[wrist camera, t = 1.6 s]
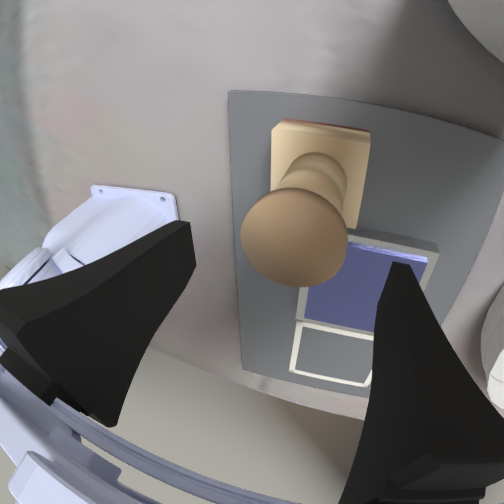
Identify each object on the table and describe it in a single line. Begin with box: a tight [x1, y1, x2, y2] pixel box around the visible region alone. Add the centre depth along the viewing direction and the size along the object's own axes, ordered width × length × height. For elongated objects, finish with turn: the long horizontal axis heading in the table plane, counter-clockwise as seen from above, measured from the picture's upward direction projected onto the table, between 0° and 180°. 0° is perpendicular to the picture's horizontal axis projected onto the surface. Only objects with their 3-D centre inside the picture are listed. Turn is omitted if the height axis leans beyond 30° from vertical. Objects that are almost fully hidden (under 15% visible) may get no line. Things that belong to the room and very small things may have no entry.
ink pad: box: [295, 226, 440, 335], centre depth 22 cm, size 9×9×2 cm
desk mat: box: [228, 90, 504, 398], centre depth 24 cm, size 18×30×1 cm, turn 0°
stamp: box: [240, 118, 370, 287], centre depth 15 cm, size 5×5×9 cm
